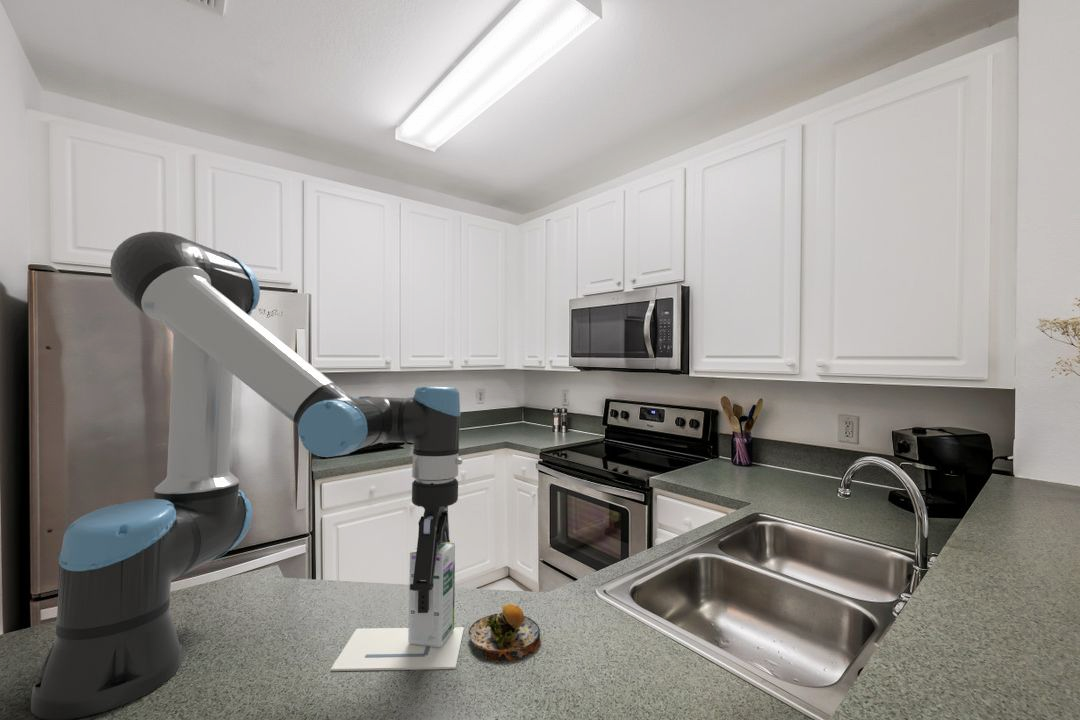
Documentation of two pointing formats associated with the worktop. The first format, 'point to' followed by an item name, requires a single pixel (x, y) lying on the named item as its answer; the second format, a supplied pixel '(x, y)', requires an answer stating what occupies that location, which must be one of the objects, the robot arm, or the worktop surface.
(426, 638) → the syrup box
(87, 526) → the robot arm
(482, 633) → the salad plate
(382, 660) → the paper
